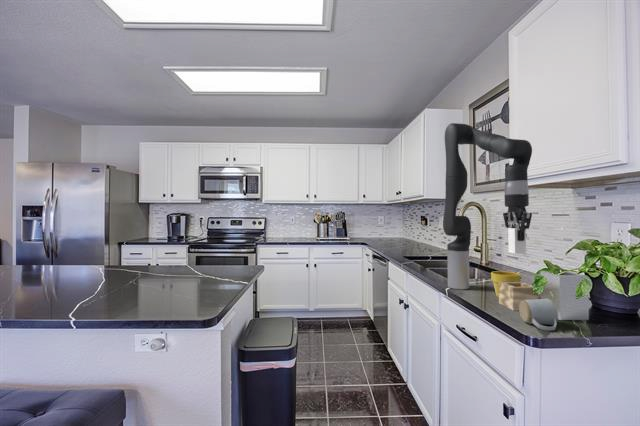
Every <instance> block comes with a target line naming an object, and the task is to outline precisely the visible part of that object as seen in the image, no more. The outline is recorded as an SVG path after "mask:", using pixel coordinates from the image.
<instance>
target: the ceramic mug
mask: <svg viewBox="0 0 640 426" xmlns="http://www.w3.org/2000/svg"><path fill="white" fill-rule="evenodd" d="M518 311H519V312H518V313H519V315H520V317H521V319H522V321H523V322H524V323H526V324H530V325H534V326H536V328H537V329H539V330H542V331H545V332H553V331H555V330H556V328H557V325H558V324H557V323H558V320H559V319H558V313H557V309H556V307H555V305H554V303H553V302H552V301H551V300H550V299H541V298H539V299H534V300H524V301H521V302H520V304H519V310H518ZM547 325H548V326H547ZM549 325H551V326H549Z"/></svg>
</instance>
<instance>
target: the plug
mask: <svg viewBox="0 0 640 426" xmlns="http://www.w3.org/2000/svg"><path fill="white" fill-rule="evenodd" d="M507 229H508V230H507V233H508V234H507V239H508V241H507V243H508V249H507V250H508V253H512V254H527V236H528V235H527V234H528V233H527V232H526V231H527V229H526V230H525V240H524V241H518V240H517V231H518V230H517V228H507Z"/></svg>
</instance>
